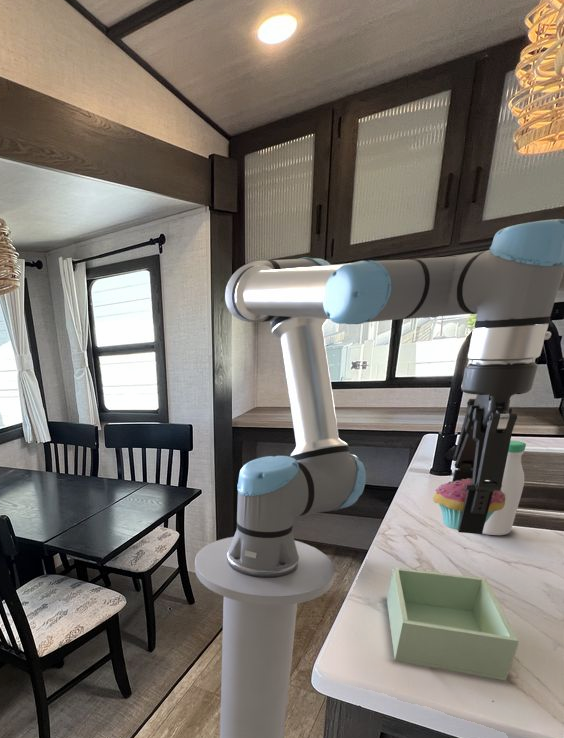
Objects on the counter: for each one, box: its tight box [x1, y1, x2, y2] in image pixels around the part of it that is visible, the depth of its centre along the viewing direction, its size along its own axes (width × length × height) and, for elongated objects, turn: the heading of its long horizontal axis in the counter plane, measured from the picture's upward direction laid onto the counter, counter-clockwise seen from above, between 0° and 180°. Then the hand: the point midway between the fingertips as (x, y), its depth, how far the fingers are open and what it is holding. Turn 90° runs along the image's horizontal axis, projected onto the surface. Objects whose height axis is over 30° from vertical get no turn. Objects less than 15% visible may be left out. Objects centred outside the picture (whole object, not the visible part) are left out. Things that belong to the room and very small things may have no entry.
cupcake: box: [432, 478, 506, 531], centre depth 68 cm, size 9×8×12 cm
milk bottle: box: [482, 440, 527, 536], centre depth 102 cm, size 8×8×20 cm
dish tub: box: [386, 567, 520, 682], centre depth 72 cm, size 18×13×7 cm
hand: (462, 520), depth 70 cm, fingers closed on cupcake, 8 cm apart
